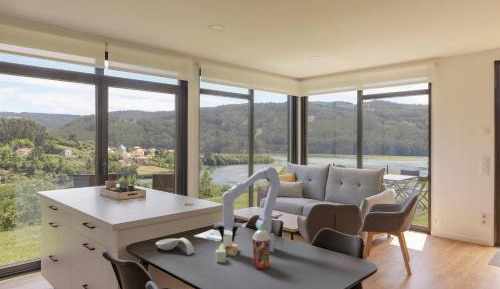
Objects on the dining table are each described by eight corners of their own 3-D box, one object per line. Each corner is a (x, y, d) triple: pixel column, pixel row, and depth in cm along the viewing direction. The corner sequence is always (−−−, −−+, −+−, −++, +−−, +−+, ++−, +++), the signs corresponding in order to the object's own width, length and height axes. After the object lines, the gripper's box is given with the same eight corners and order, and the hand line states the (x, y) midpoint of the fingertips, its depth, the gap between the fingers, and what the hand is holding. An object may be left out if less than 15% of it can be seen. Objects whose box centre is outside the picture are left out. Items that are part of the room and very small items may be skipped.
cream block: (232, 243, 179) (232, 233, 179) (232, 246, 175) (231, 236, 175) (224, 243, 180) (224, 233, 180) (223, 246, 175) (223, 236, 175)
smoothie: (264, 272, 152) (264, 227, 151) (248, 268, 156) (248, 224, 156) (273, 266, 159) (273, 223, 158) (258, 262, 163) (258, 220, 163)
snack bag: (220, 242, 196) (220, 239, 196) (192, 237, 207) (192, 234, 207) (238, 234, 212) (238, 231, 212) (212, 230, 223) (212, 227, 223)
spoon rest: (151, 249, 184) (151, 236, 184) (167, 243, 194) (167, 231, 193) (183, 257, 171) (183, 243, 171) (199, 251, 181) (199, 237, 181)
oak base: (237, 249, 182) (237, 244, 182) (235, 255, 173) (235, 249, 173) (221, 249, 183) (221, 243, 183) (218, 255, 174) (218, 249, 174)
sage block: (224, 258, 169) (224, 248, 168) (225, 262, 164) (225, 251, 164) (215, 259, 168) (215, 249, 168) (216, 262, 163) (216, 252, 163)
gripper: (212, 216, 174) (212, 243, 174) (241, 217, 173) (241, 243, 173) (215, 213, 181) (215, 239, 181) (242, 213, 180) (242, 239, 180)
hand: (228, 241), depth 178 cm, fingers closed on cream block, 4 cm apart
